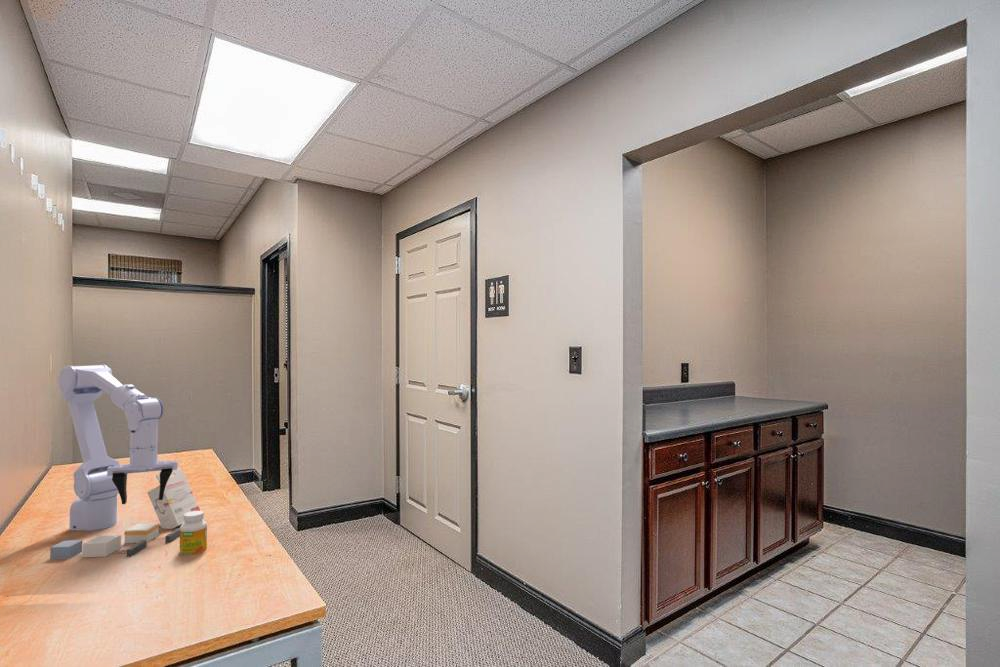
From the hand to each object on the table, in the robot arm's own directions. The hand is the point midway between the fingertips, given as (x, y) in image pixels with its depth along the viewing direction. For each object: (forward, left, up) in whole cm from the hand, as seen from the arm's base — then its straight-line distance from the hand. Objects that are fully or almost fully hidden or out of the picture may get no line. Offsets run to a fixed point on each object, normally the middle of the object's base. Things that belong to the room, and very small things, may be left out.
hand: (142, 501), depth 131 cm
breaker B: (-2, -12, -8) cm, 14 cm away
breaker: (+2, -4, -8) cm, 9 cm away
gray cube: (-9, -13, -10) cm, 18 cm away
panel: (+2, -7, -10) cm, 12 cm away
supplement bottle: (+18, -12, -10) cm, 23 cm away
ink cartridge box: (+6, +8, -9) cm, 13 cm away
